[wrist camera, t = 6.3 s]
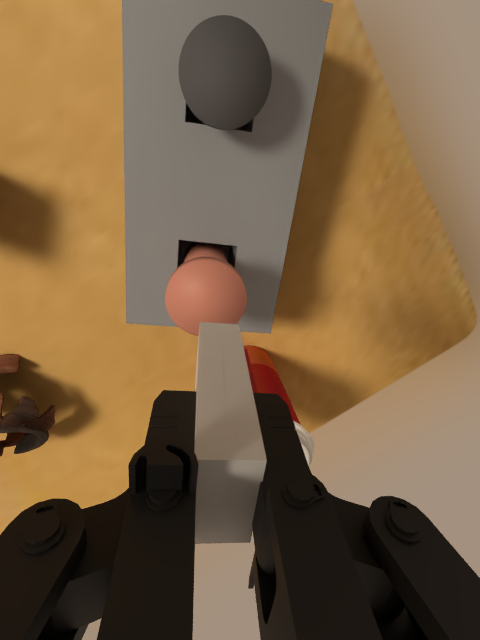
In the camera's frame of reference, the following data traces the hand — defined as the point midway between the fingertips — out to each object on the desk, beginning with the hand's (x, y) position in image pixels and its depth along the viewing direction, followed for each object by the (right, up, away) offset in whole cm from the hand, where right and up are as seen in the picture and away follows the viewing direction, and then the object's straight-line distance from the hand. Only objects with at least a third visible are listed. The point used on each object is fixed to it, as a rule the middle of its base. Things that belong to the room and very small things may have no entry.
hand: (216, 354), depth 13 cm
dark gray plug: (-1, +18, +13) cm, 22 cm away
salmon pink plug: (-2, +6, +15) cm, 17 cm away
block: (-2, +14, +17) cm, 21 cm away
